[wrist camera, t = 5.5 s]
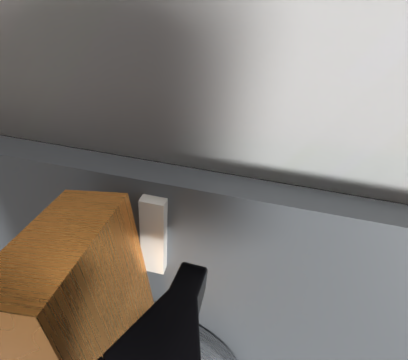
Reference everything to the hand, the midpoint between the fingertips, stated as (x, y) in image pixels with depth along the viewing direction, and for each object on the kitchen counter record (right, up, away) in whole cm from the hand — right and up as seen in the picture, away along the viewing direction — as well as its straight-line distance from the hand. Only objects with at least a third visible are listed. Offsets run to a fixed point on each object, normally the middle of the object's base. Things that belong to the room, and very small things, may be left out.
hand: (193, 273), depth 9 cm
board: (-2, -5, +7) cm, 9 cm away
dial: (-2, -3, +4) cm, 6 cm away
